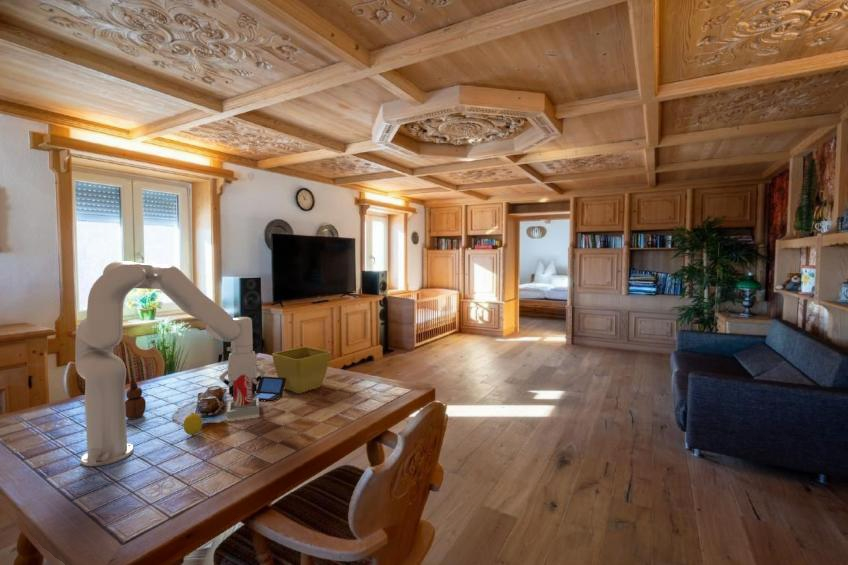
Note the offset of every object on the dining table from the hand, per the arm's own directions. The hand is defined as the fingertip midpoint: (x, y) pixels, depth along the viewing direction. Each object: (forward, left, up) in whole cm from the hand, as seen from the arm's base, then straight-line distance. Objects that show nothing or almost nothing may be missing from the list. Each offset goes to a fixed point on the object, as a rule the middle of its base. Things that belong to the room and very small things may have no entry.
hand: (243, 394), depth 156 cm
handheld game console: (+16, -9, -8) cm, 21 cm away
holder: (0, 0, -8) cm, 8 cm away
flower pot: (+22, -24, -8) cm, 34 cm away
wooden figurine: (+11, +38, -8) cm, 40 cm away
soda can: (0, 0, -5) cm, 5 cm away
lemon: (-15, +16, -8) cm, 23 cm away
